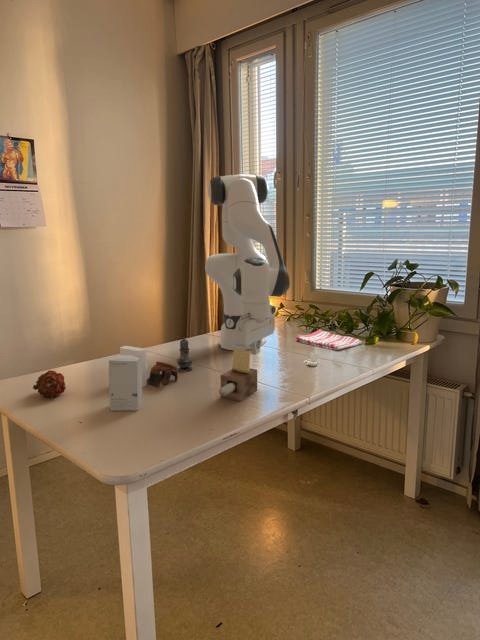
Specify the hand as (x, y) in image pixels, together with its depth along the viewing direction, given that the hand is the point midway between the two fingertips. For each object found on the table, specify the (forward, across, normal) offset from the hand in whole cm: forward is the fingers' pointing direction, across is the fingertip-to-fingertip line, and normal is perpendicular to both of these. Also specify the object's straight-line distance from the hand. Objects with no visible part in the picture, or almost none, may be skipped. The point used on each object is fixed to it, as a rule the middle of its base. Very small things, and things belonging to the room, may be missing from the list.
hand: (255, 353), depth 150 cm
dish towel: (+11, +63, -2) cm, 64 cm away
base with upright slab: (+11, -18, +36) cm, 41 cm away
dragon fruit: (+11, -38, +51) cm, 64 cm away
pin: (+9, -11, 0) cm, 14 cm away
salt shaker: (+11, +2, +30) cm, 32 cm away
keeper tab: (0, -9, 0) cm, 9 cm away
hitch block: (+11, -9, +1) cm, 14 cm away
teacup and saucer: (+11, +31, -5) cm, 33 cm away
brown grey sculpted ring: (+11, -13, +27) cm, 32 cm away
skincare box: (+11, -34, +24) cm, 43 cm away
